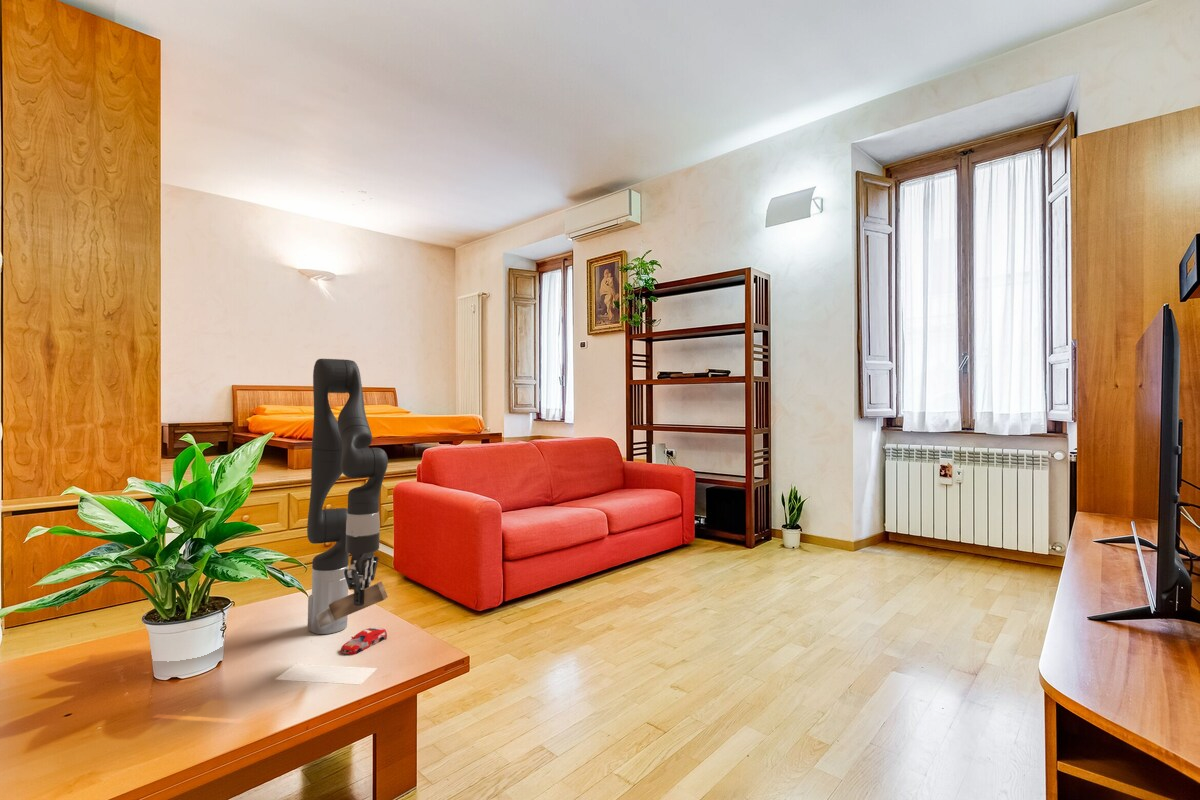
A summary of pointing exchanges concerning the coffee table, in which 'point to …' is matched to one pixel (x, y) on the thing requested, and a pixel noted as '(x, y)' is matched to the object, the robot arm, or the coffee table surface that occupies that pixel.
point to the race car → (364, 640)
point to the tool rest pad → (327, 674)
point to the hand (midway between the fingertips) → (361, 603)
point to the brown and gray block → (351, 604)
